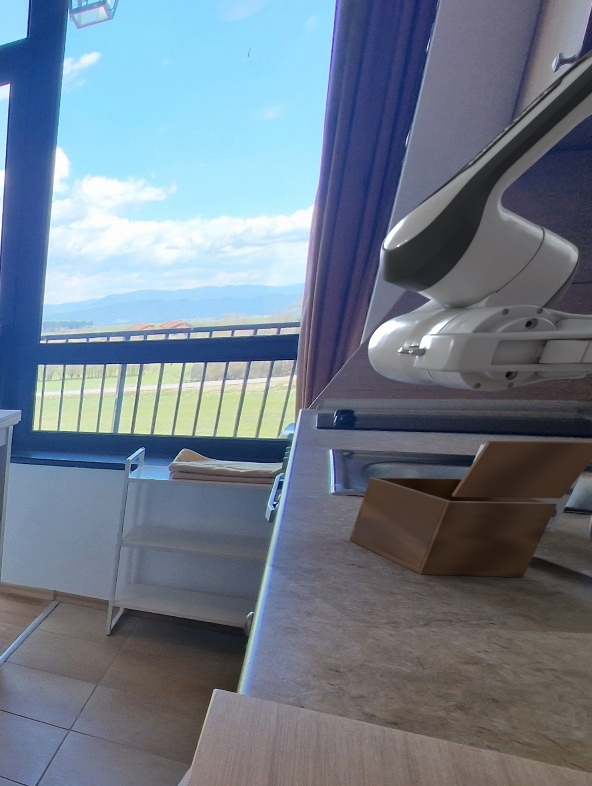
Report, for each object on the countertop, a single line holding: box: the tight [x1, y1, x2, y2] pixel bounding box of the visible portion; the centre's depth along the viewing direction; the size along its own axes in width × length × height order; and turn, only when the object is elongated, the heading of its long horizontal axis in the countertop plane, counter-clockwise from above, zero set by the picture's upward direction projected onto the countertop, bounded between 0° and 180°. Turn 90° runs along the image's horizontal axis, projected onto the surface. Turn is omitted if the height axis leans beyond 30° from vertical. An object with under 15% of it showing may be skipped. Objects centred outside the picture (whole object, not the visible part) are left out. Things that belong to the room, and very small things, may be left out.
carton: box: [348, 476, 557, 578], centre depth 75 cm, size 10×13×8 cm
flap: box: [452, 440, 592, 498], centre depth 65 cm, size 10×6×1 cm
